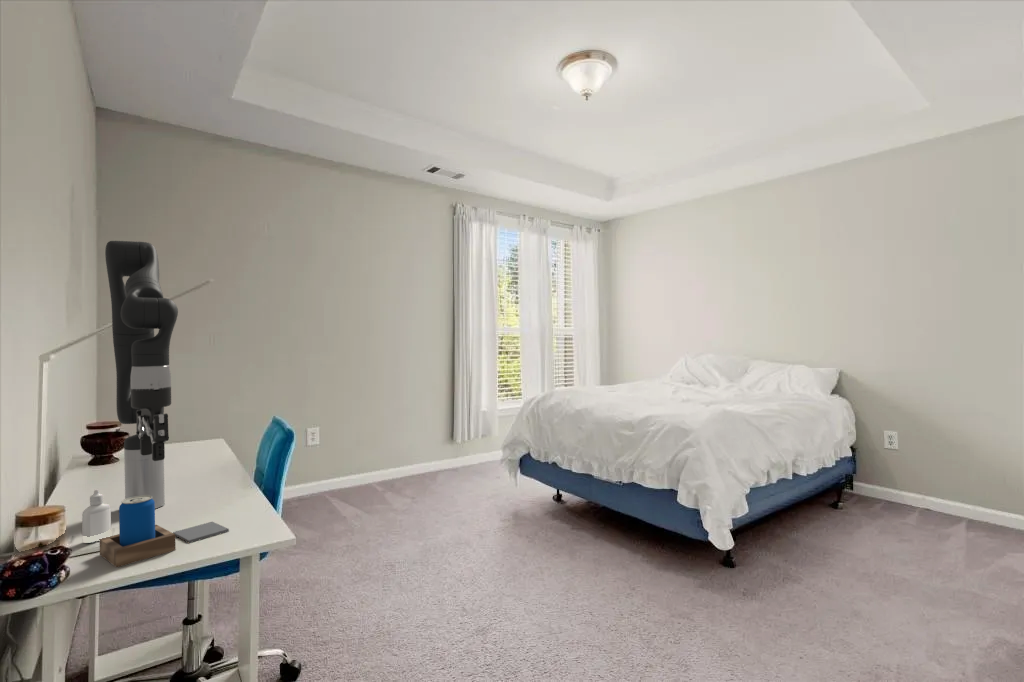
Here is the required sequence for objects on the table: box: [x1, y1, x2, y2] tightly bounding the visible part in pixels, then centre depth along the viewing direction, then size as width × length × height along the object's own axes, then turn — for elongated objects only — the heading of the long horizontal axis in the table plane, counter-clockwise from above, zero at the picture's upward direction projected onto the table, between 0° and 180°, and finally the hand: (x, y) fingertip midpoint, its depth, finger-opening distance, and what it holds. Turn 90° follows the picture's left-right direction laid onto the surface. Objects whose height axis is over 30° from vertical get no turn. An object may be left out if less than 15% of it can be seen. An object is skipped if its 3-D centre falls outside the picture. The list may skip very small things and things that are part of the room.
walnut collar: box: [99, 524, 177, 568], centre depth 117 cm, size 11×11×4 cm
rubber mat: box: [172, 521, 230, 543], centre depth 128 cm, size 9×9×1 cm
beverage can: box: [118, 495, 156, 547], centre depth 117 cm, size 6×6×12 cm
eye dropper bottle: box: [81, 488, 112, 537], centre depth 124 cm, size 4×6×12 cm
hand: (152, 457), depth 118 cm, fingers open, 8 cm apart
